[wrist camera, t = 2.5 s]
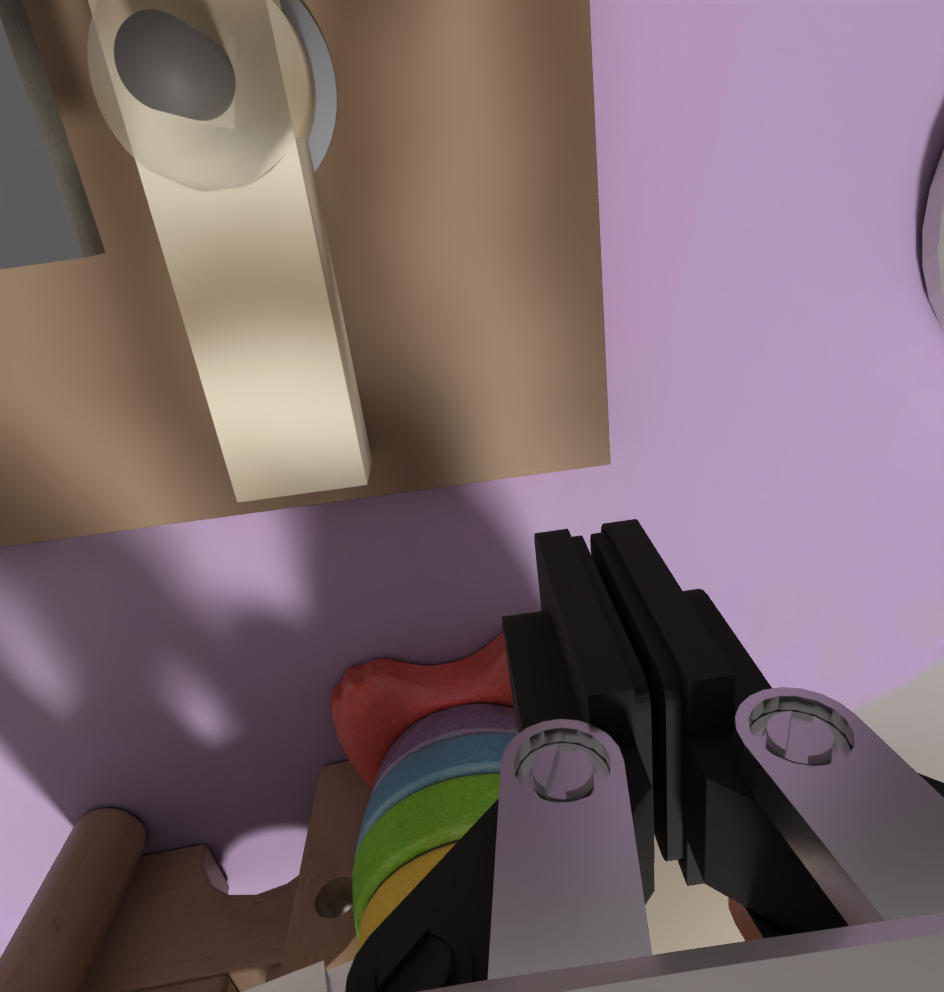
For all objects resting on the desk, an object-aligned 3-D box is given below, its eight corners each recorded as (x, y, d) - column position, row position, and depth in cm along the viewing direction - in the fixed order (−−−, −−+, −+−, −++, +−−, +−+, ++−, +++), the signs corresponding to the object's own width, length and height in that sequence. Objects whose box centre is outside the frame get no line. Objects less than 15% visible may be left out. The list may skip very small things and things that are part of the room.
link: (94, -13, 17) (-12, -72, 13) (291, -41, 17) (247, -109, 13) (237, 478, 23) (195, 543, 19) (387, 458, 23) (377, 519, 19)
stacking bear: (573, 609, 28) (769, 1187, 12) (610, 785, 32) (792, 1389, 16) (317, 669, 29) (175, 1301, 12) (387, 834, 33) (347, 1469, 17)
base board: (566, -228, 18) (579, -267, 16) (600, 448, 25) (611, 466, 24) (-440, -84, 18) (-522, -109, 16) (-100, 544, 25) (-135, 567, 24)
